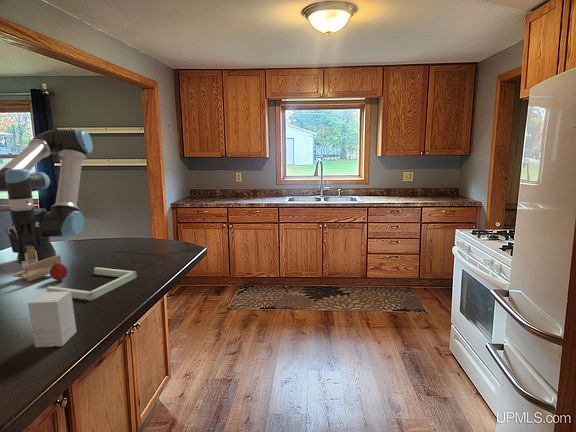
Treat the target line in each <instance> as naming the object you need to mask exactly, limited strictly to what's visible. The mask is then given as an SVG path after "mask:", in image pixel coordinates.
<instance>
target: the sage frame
mask: <svg viewBox="0 0 576 432" xmlns="http://www.w3.org/2000/svg"><path fill="white" fill-rule="evenodd" d="M93 273H94V275H98V276H105V277H106V276H107V277H117V278H115V279H114V280H111V281H109V282H107V283H105V284H103V285H101V286H98V287H97V288H95V289H93V290H90V291H89V290H83V289H82V290H81V289H74V288H67V287H66V288H65V287H57V286H52V285H50V286H47V287H46V292H67V291H71V295H72V299H77V298H78V300H84V299H85V301H93V300H95V299H97V298H99V297H101V296H103V295H105V294H107V293H109V292H112V291H113V290H115V289H118V288H119V287H121V286H122V285H125V284H127V283H128V282H131V281H133V280H135V279H137V277H138V275H137V271H134V270H125V269H116V268H115V269H114V268H105V267H98V266H97V267H94V268H93Z"/></svg>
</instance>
